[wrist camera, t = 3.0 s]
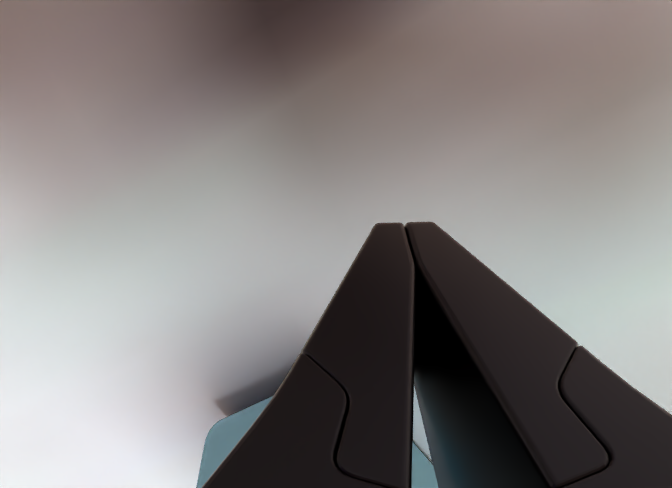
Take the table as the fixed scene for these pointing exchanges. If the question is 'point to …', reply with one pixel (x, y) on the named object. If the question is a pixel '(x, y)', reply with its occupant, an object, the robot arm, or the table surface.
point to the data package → (238, 424)
